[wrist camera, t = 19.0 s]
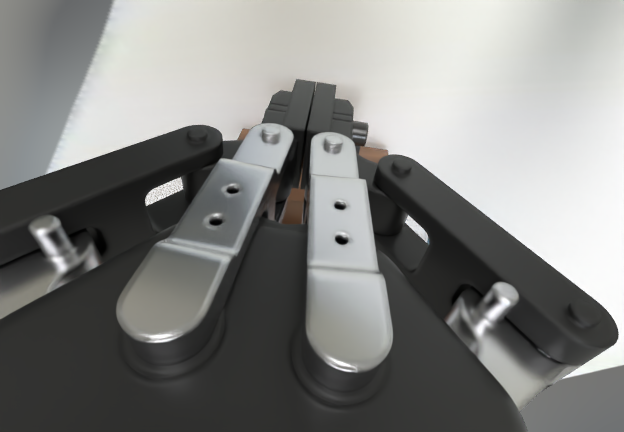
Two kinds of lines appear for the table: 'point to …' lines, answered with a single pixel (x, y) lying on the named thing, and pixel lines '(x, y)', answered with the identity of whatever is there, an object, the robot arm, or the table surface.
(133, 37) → the table surface
